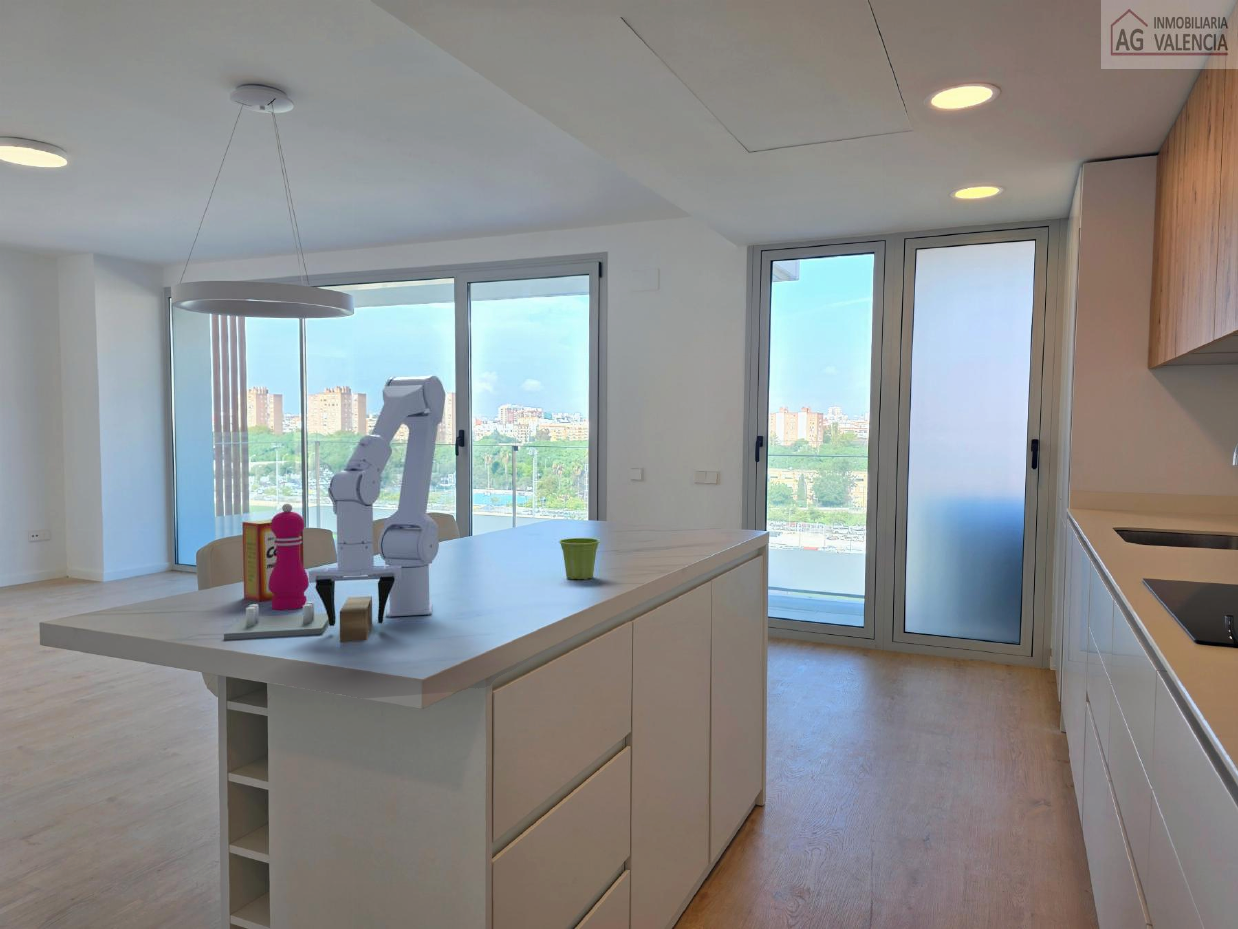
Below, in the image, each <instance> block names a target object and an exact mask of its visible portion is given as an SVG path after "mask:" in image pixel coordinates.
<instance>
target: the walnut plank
mask: <svg viewBox="0 0 1238 929" xmlns="http://www.w3.org/2000/svg"><path fill="white" fill-rule="evenodd" d="M372 627H373V596H372V595H371V596H354V597H353V596H351V597H347V599H346V600H345V601H344V604H342V607H341V608H340V611H339V642H340V643H344V642H345V643H346V642H363V641H368V640H367V639H368V637H369V634H370V631H371V629H372Z"/></svg>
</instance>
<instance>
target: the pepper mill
mask: <svg viewBox="0 0 1238 929" xmlns="http://www.w3.org/2000/svg"><path fill="white" fill-rule="evenodd" d="M281 508H282V511H281V512H278V513H277V514H275V515H274V516H272V518H271V519H272V521H271V530H272V532H273V533H274V534H275V536H276V537H275V538H274V540H275V541H274V542H275V543H274V545H276V549H277V558H276V563H275V566H274V568H273V570H272V573H271V575H270V578H269V585H268V587H269V590H270V591H271V592H272V593H273V594H274V596H275V597H274V598H272V600H271V609H273V610H278V611H279V610H280V611H287V610H297V609H300V608H302V609H303V605H305V603H306V602H308V601H307V596H306V595H305V592H306V591H307V590H308V589H309V588H308V587H309V585H310V583H309V575H308V573H307V571H306V569H305V568H304V567H303V566H304V564H303V565H302V563H301V559H300V553H299V548H300V544H301V543H302V541H301V538H302V537H301V536H300V533H301V532H302V531H303V532H304V529H305V521H304V518H303V517H302V515H301V514H299V513H298V512H295V511H292V510H293V506H292V505H291V504H290V503H285V504H283V505H282V507H281ZM303 593H304V595H303Z"/></svg>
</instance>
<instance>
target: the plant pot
mask: <svg viewBox="0 0 1238 929" xmlns="http://www.w3.org/2000/svg"><path fill="white" fill-rule="evenodd" d="M558 543H559V544H560V547H561V550H562V553H563V561H564V568H565V575H566V576H565V577H566V578H567V579H570V580H575V579H577V580H579V581H581V580H580V579H584V580H589V579H588V578H590V579H592V578H594V571H595V563H596V555H597V550H598V547H599V543H601V540H600V539H599V538H589V537H574V538H565V539H564V538H563V539H560V540H559V541H558Z"/></svg>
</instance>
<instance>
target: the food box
mask: <svg viewBox="0 0 1238 929" xmlns="http://www.w3.org/2000/svg"><path fill="white" fill-rule="evenodd" d="M272 519H273V518H270V519H262V520H250V521H242V522H241V523H242V524H241V526H242V561H243V562H242V566H243V570H242V573H243V574H242V575H243V598H244V599H246V600H249V601H250V600H251V601H254V602H258V603H261V602H267V601H272V598H274V597H275V596H274V594H273V593H272V592H271V591H270V590H269V587H268V585H269V578H270V575H271V573H272V570H273V568H274V566H275V563H276V558H277V549H276V545H274V543H275V542H274V541H275V540H274V538H275V537H276V536H275V534H274V533H273V532H272V530H271V521H272ZM300 536H301V537H302V538H301V541H302V543H301V544H300V548H299V553H300V559H301V563H302V565H303V567H304V530H303V531H302V532H301V533H300ZM303 595H305V592H304V593H303Z"/></svg>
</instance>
